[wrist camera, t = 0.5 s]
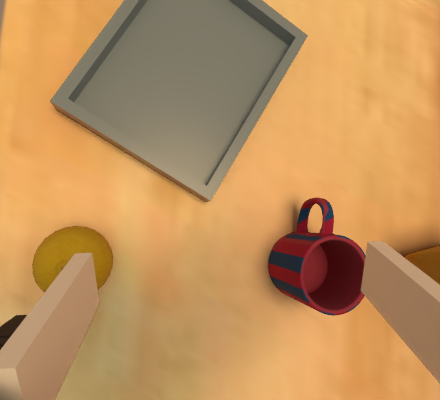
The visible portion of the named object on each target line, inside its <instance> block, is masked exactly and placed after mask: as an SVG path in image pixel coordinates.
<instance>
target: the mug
mask: <svg viewBox="0 0 440 400" xmlns="http://www.w3.org/2000/svg"><path fill="white" fill-rule="evenodd" d="M316 203H317V204H318V205H319V206H320V207H321V209H322V214H323V223H322V228H321V230H320V233H310V232H308V229H307V223H308V216H309V212H310V209H311V208H312V206H313V205H314V204H316ZM333 223H334V215H333V210H332V207H331V205H330V203H329V202H328V201H327V200H325V199H322V198H312V199H309V200H307V201H306V202H304V204H303V206H302V207H301V210H300V214H299V218H298V225H297V232H295V233H290V234H288V235H286V236H284V237H282V238H281V239H280V240H279V241H278V242H277V243H276V244H275V245H274V247H273V249H272V251H271V254H270V257H269V266H268V267H269V273H270V277H271V279H272V281H273V283H274V285H275V286H276V287H277V288H278V289H279V290H280V291H281V292H283V293H284V294H286V295H288V296H290V297H292V298H294V299H295V300H297V301H299V302H301V303H303V304H305V305H307V306H309V307H311V308H313V309H315V310H317V311H319V312H321V313H324V314H327V315H341V314H345V313H347V312H349V311H351V310H352V309H354V308H355V307H356V306H357V305H358V304H359V303H360V302H361V300H362V299H363V298H364V296H365V295H364V294H363V293H362V292H361V285H362V278H363V271H364V264H365V257H366V256H365V254H364V252H363V251H362V249H361V248H360V247H359V246H358V245H357V243H355V242H354V241H353V240H351V239H349V238H347V237H344V236H340V235H334V234H333V233H332V232H333Z"/></svg>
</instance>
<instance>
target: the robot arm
mask: <svg viewBox="0 0 440 400" xmlns="http://www.w3.org/2000/svg"><path fill="white" fill-rule="evenodd" d="M361 292H362V293H363V294H364V295H365V296H366V298H367V299H368V300H369V301H370V302H371V303H372V305H373V306H374V307H375V308H376V309H377V310H378V312H379V313H380V314H381V315H382V316H383V317H384V319H385V320H386V321H387V322H388V323H389V325H390V326H391V327H392V328H393V329H394V330H395V332H396V333H397V334H398V335H399V336H400V337H401V339H402V340H403V341H404V342H405V343H406V344H407V346H408V347H409V348H410V349H411V350H412V351H413V353H414V354H415V355H416V356H417V357H418V358H419V360H420V361H421V362H422V363H423V364H424V365H425V367H426V368H427V369H428V370H429V371H430V373H431V374H432V375H433V376H434V377H435V378H436V380H437V381H438V382H439V383H440V285H439V284H438V283H437V282H435V281H434V280H433V279H432V278H430V277H429V276H428V275H426V274H425V273H424V272H422V271H421V270H420V269H419V268H417V267H416V266H415V265H413V264H412V263H411V262H409V261H408V260H407V259H406V258H404V257H403V256H402V255H400V254H399V253H398V252H396V251H395V250H394V249H392V248H391V247H390V246H389V245H387V244H386V243H385V242H383V241H373V242H368V243H367V250H366V257H365V264H364V271H363V278H362V285H361ZM98 306H99V297H98V290H97V283H96V276H95V269H94V262H93V255H92V253H75V254H74V255H73V257H72V258H71V259H70V261H69V262H68V263H67V264H66V266H65V267H64V268H63V270H62V271H61V272H60V273H59V275H58V276H57V277H56V279H55V280H54V281H53V283H52V284H51V285H50V286H49V288H48V289H47V290H46V292H45V293H44V294H43V295H42V297H41V298H40V299H39V301H38V302H37V303H36V304H35V306H34V307H33V308H32V310H31V311H30V312H29V314H28V315H16V316H15V317H13V318H12V319H10V320H9V321H8V322H6V323H5V324H3V325H2V326H1V327H0V400H55V398H56V396H57V394H58V392H59V390H60V387H61V385H62V383H63V381H64V379H65V377H66V375H67V372H68V370H69V368H70V366H71V364H72V362H73V360H74V357H75V355H76V353H77V351H78V349H79V347H80V345H81V342H82V340H83V338H84V336H85V334H86V332H87V329H88V327H89V325H90V323H91V321H92V319H93V317H94V314H95V312H96V310H97V308H98Z"/></svg>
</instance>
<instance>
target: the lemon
mask: <svg viewBox="0 0 440 400" xmlns="http://www.w3.org/2000/svg"><path fill="white" fill-rule="evenodd" d="M75 253H92V255H93V262H94V269H95V276H96V283H97V290H98V289H99V288H100V287H101V286H102V285H103V284H104V283H105V281H106V280H107V278H108V277H109V275H110V272H111V269H112V264H113V255H112V251H111V248H110V246H109V244H108V242H107V240H106V239H105V238H104V237H103V236H102V235H101V234H99V233H98V232H96V231H95V230H92V229H89V228H87V227H79V226H73V227H67V228H63V229H61V230H58V231H56V232H54V233H53V234H51V235H50V236H48V237H47V238H46V239H45V240H44V241H43V242H42V243H41V244H40V246H39V247H38V249H37V251H36V253H35V255H34V259H33V264H32V266H33V275H34V278H35V281H36V283H37V284H38V286H39V287H40V288H41V290H43V291H44V292H46V290H47V289H48V288H49V286H50V285H51V284H52V283H53V281H54V280H55V279H56V277H57V276H58V275H59V273H60V272H61V271H62V270H63V268H64V267H65V266H66V264H67V263H68V262H69V261H70V259H71V258H72V257H73V255H74V254H75Z"/></svg>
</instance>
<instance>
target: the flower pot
mask: <svg viewBox="0 0 440 400" xmlns="http://www.w3.org/2000/svg"><path fill="white" fill-rule="evenodd" d="M404 258H406V259H407V260H408V261H409V262H411V263H412V264H413V265H415V266H416V267H417V268H419V269H420V270H421V271H422V272H424V273H425V274H426V275H428V276H429V277H430V278H432V279H433V280H434V281H435V282H437V283H438V284H439V285H440V246H436V247H433V248H429V249H425V250H422V251H417V252H414V253H410V254H408V255H406V256H405V257H404Z"/></svg>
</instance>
